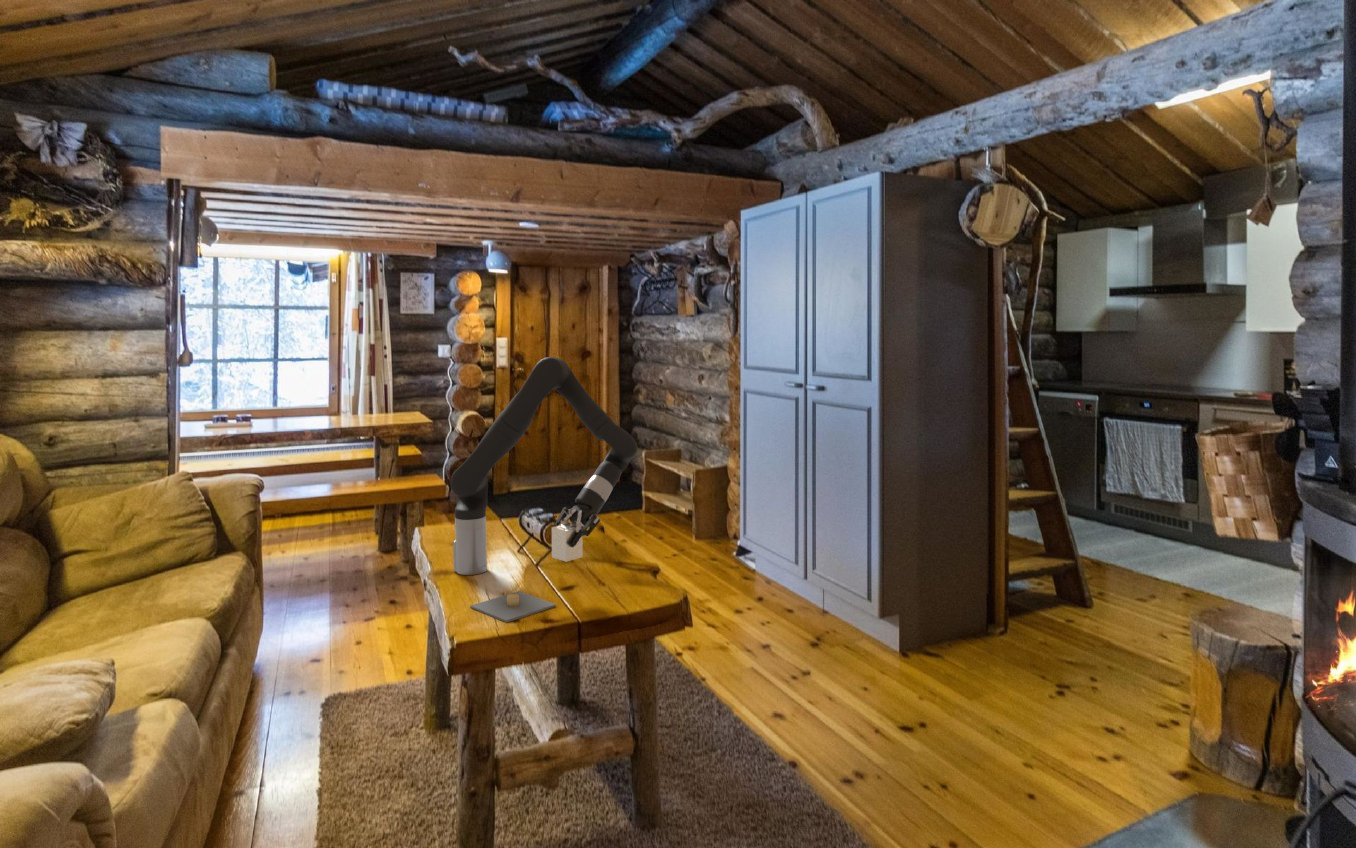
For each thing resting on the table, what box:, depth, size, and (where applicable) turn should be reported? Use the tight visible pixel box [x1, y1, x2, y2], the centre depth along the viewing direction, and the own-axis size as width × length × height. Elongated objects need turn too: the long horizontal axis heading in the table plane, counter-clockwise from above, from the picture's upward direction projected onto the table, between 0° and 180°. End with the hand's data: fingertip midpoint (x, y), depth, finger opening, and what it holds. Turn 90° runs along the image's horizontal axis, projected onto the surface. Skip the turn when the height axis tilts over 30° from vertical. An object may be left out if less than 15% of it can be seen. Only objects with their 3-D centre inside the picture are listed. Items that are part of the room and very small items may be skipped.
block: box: [551, 524, 584, 563], centre depth 213 cm, size 6×6×8 cm
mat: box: [470, 590, 557, 624], centre depth 206 cm, size 16×16×3 cm
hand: (562, 543), depth 212 cm, fingers closed on block, 6 cm apart
